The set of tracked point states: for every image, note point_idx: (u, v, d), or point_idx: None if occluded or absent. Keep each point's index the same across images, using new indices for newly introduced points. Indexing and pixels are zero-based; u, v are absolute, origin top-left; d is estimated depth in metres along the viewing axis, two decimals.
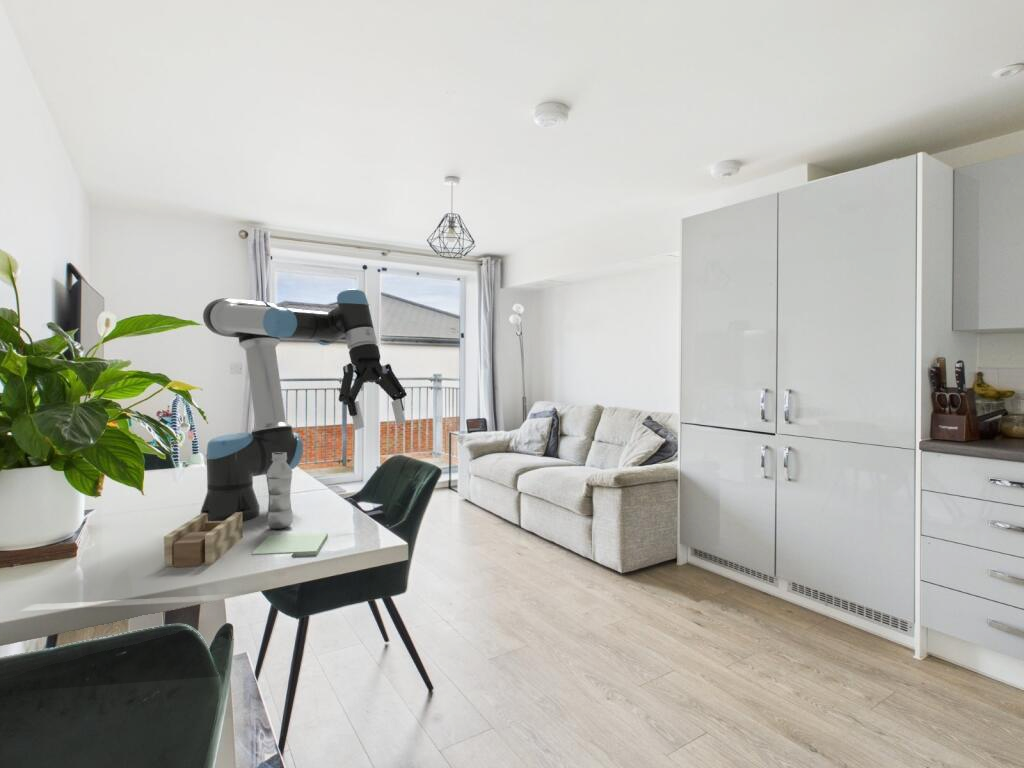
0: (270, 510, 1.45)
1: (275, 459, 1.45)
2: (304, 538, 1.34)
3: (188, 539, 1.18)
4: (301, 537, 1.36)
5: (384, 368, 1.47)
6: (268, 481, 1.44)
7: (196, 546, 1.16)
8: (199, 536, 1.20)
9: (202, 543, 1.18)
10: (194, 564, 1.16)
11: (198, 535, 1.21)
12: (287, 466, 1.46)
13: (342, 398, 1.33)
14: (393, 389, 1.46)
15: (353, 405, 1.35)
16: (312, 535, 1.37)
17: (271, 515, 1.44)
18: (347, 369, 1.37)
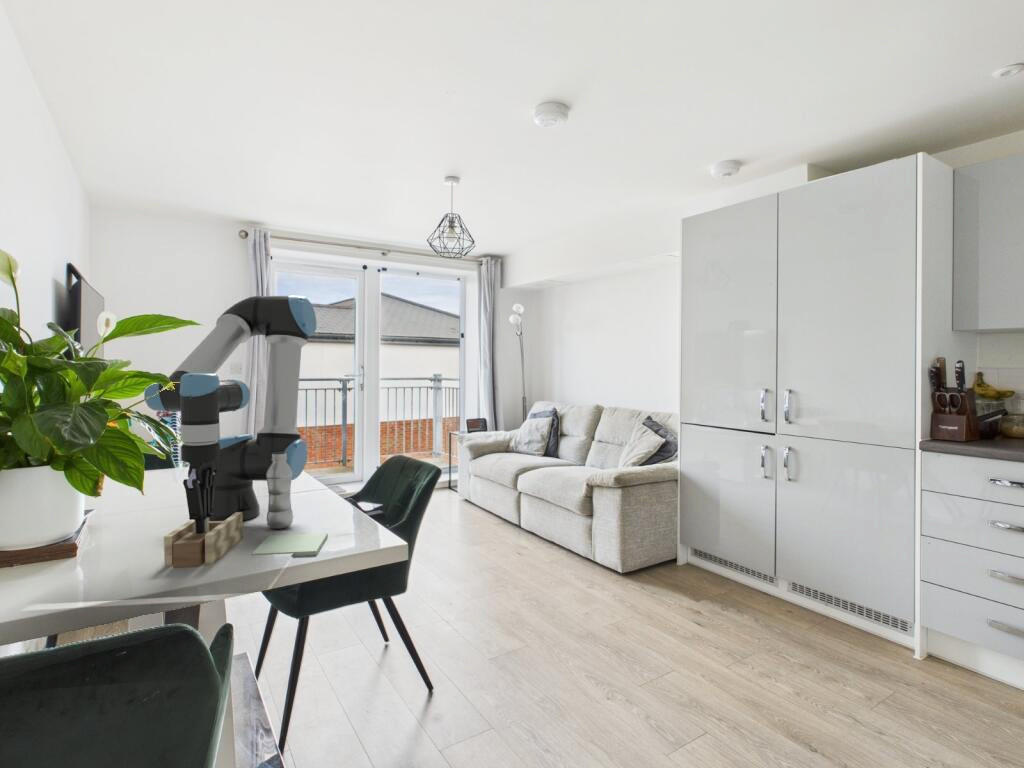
0: (270, 510, 1.45)
1: (275, 459, 1.45)
2: (304, 538, 1.34)
3: (188, 539, 1.18)
4: (301, 537, 1.36)
5: None
6: (268, 481, 1.44)
7: (196, 547, 1.16)
8: (199, 536, 1.20)
9: (202, 544, 1.18)
10: (194, 564, 1.16)
11: (198, 535, 1.21)
12: (287, 466, 1.46)
13: None
14: None
15: None
16: (312, 535, 1.37)
17: (271, 515, 1.44)
18: None
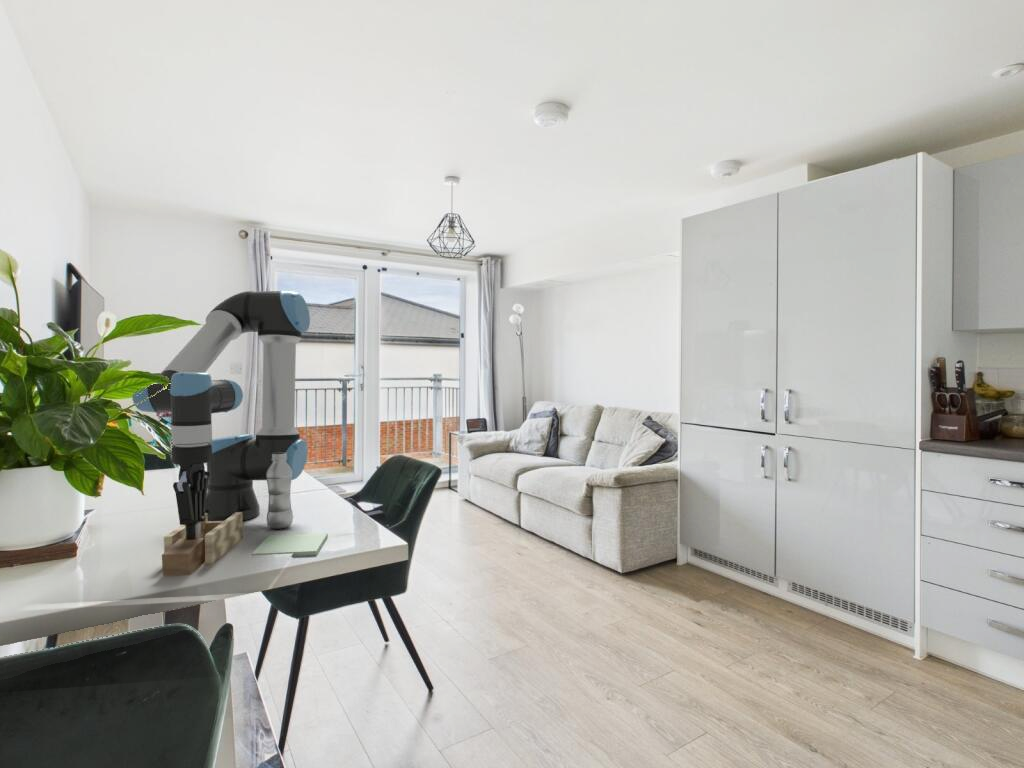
0: (270, 510, 1.45)
1: (275, 459, 1.45)
2: (304, 538, 1.34)
3: (177, 549, 1.13)
4: (301, 537, 1.36)
5: None
6: (268, 481, 1.44)
7: (186, 558, 1.11)
8: (189, 545, 1.15)
9: (192, 553, 1.13)
10: None
11: (188, 543, 1.16)
12: (287, 466, 1.46)
13: None
14: None
15: None
16: (312, 535, 1.37)
17: (271, 515, 1.44)
18: None
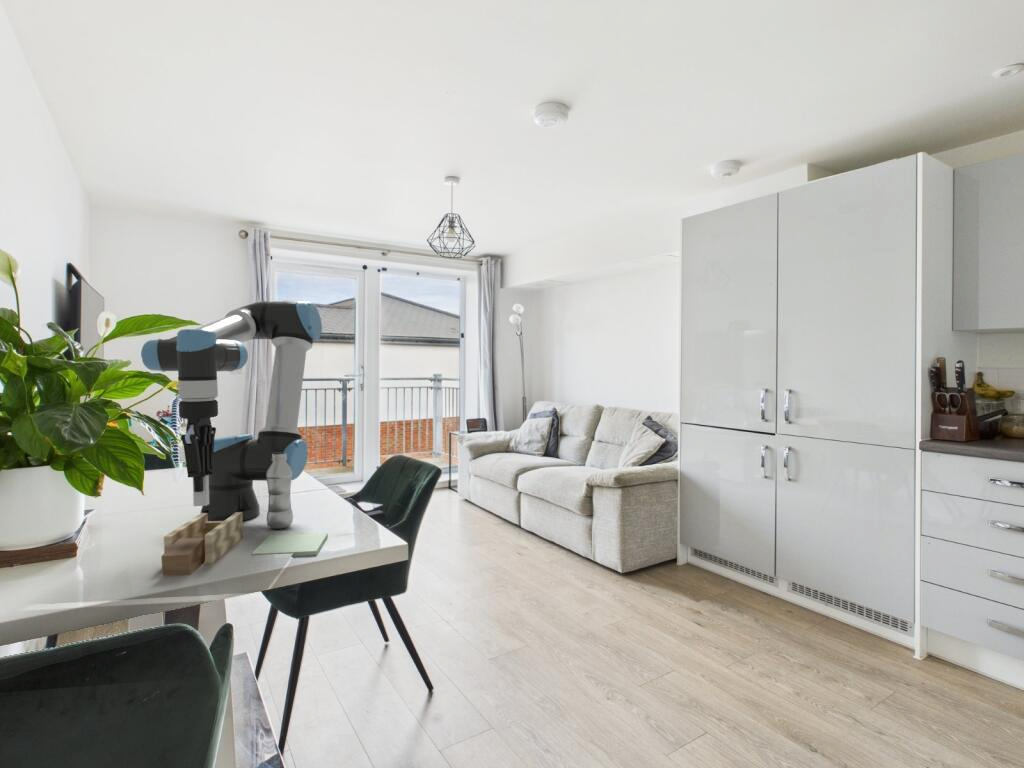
0: (270, 510, 1.45)
1: (275, 459, 1.45)
2: (304, 538, 1.34)
3: (177, 550, 1.13)
4: (301, 537, 1.36)
5: None
6: (268, 481, 1.44)
7: (186, 559, 1.11)
8: (188, 545, 1.15)
9: (192, 554, 1.13)
10: None
11: (187, 543, 1.16)
12: (287, 466, 1.46)
13: None
14: None
15: None
16: (312, 535, 1.37)
17: (271, 515, 1.44)
18: None
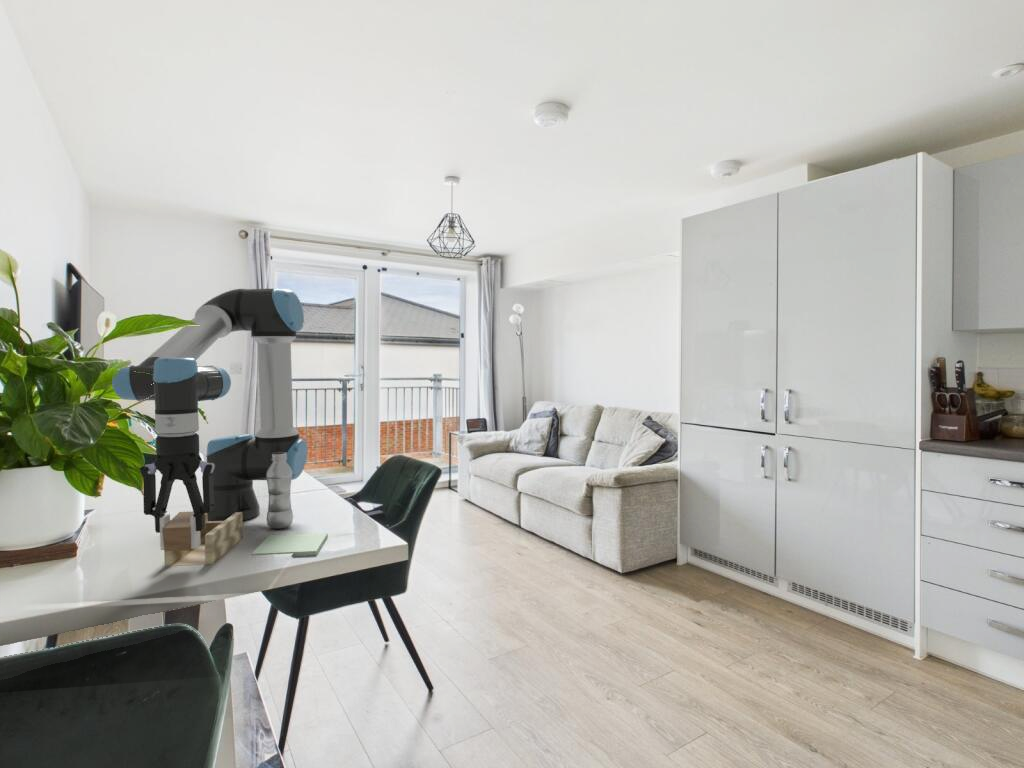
0: (270, 510, 1.45)
1: (275, 459, 1.45)
2: (304, 538, 1.34)
3: (177, 522, 1.13)
4: (301, 537, 1.36)
5: (203, 466, 1.12)
6: (268, 481, 1.44)
7: (186, 531, 1.11)
8: (189, 518, 1.15)
9: None
10: (185, 548, 1.12)
11: (188, 516, 1.16)
12: (287, 466, 1.46)
13: None
14: (191, 500, 1.12)
15: (158, 521, 1.11)
16: (312, 535, 1.37)
17: (271, 515, 1.44)
18: None
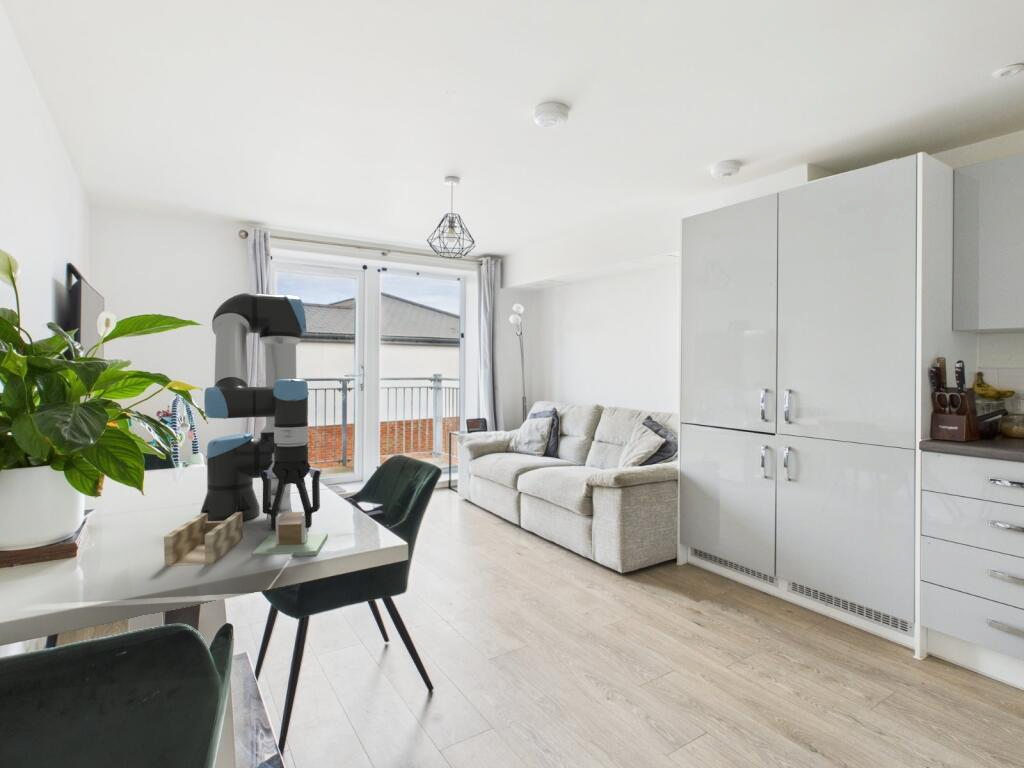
0: None
1: None
2: None
3: (289, 520, 1.31)
4: None
5: (312, 472, 1.31)
6: None
7: (298, 527, 1.30)
8: (297, 517, 1.34)
9: None
10: (297, 543, 1.30)
11: (296, 516, 1.34)
12: None
13: None
14: (302, 501, 1.30)
15: (274, 519, 1.30)
16: (312, 535, 1.37)
17: None
18: None
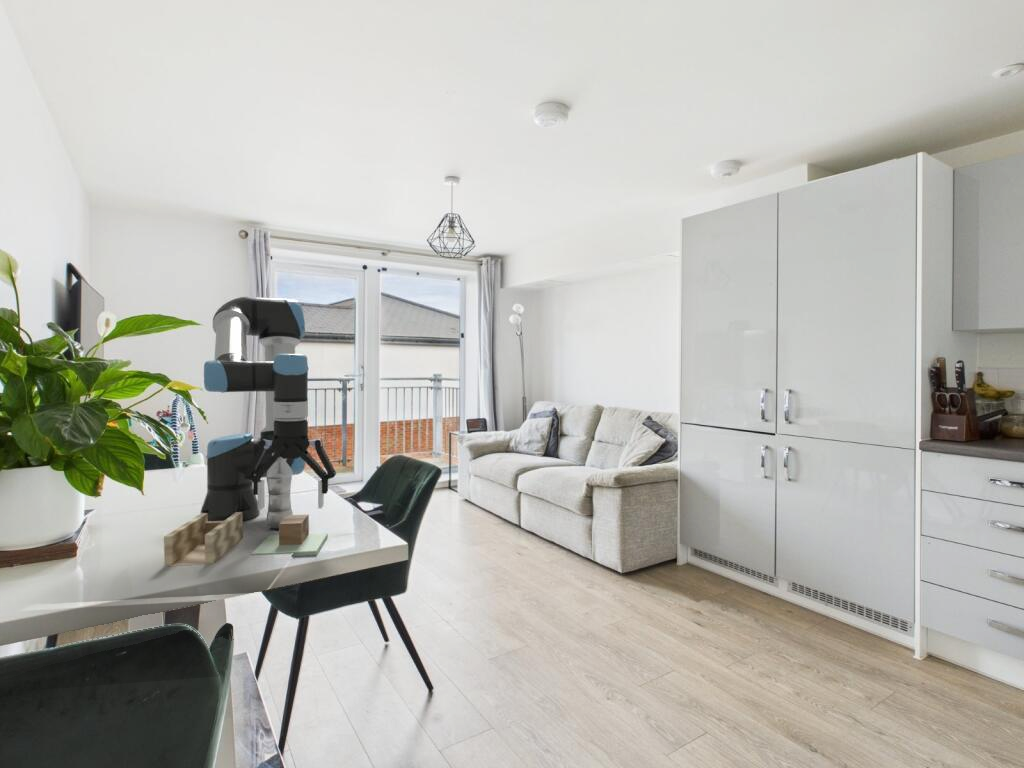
0: (270, 510, 1.45)
1: None
2: None
3: (290, 520, 1.32)
4: None
5: (313, 443, 1.31)
6: (268, 481, 1.44)
7: (299, 527, 1.30)
8: (298, 518, 1.34)
9: (303, 524, 1.32)
10: (297, 543, 1.30)
11: (297, 517, 1.35)
12: (287, 466, 1.46)
13: None
14: (315, 470, 1.31)
15: (256, 485, 1.30)
16: (312, 535, 1.37)
17: (271, 515, 1.44)
18: None
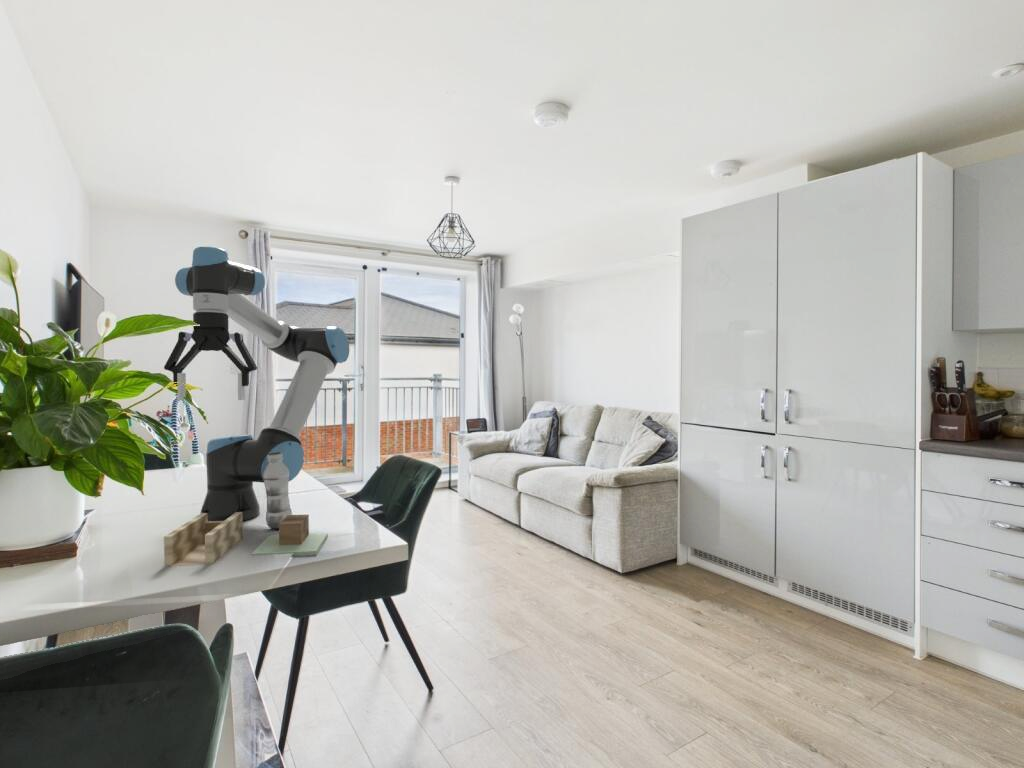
0: (269, 511, 1.44)
1: (271, 460, 1.43)
2: None
3: (290, 520, 1.32)
4: None
5: (233, 336, 1.35)
6: (265, 482, 1.43)
7: (299, 527, 1.30)
8: (298, 518, 1.34)
9: (303, 524, 1.32)
10: (297, 543, 1.30)
11: (297, 517, 1.35)
12: (283, 466, 1.45)
13: None
14: (234, 362, 1.34)
15: (176, 376, 1.33)
16: (312, 535, 1.37)
17: (270, 516, 1.44)
18: None
